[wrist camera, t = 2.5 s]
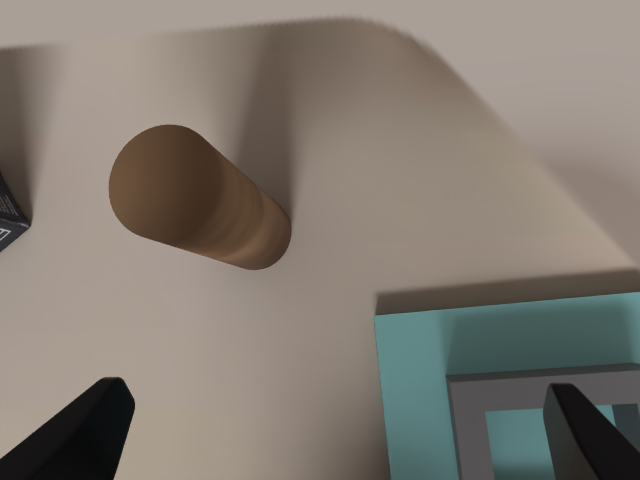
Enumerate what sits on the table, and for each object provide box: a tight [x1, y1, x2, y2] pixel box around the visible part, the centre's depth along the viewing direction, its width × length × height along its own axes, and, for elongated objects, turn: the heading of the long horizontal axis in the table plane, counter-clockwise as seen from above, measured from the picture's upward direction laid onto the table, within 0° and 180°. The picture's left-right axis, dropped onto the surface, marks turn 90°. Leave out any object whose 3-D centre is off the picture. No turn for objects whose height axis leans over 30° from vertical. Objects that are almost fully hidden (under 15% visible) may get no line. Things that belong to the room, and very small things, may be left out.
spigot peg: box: [109, 125, 291, 270], centre depth 21 cm, size 4×4×10 cm
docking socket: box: [374, 292, 640, 480], centre depth 19 cm, size 14×14×4 cm
